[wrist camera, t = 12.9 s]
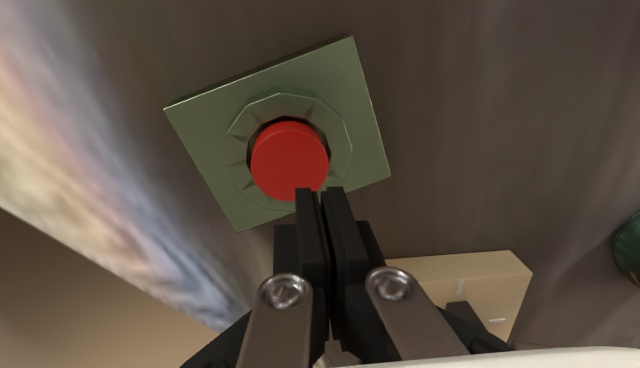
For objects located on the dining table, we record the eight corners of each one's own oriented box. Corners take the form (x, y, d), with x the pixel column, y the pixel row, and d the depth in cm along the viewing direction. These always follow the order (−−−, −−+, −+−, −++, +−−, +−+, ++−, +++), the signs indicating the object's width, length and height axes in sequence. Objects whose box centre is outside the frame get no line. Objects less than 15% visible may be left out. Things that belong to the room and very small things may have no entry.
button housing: (345, 32, 20) (361, 36, 16) (382, 163, 24) (401, 189, 20) (172, 100, 20) (151, 118, 17) (238, 217, 24) (233, 251, 21)
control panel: (509, 249, 29) (534, 274, 26) (483, 330, 34) (502, 358, 31) (375, 259, 28) (387, 287, 25) (366, 342, 32) (375, 373, 30)
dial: (446, 302, 27) (483, 362, 22) (467, 300, 27) (508, 359, 22) (434, 348, 29) (464, 412, 25) (453, 346, 29) (487, 409, 25)
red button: (310, 109, 18) (313, 118, 16) (333, 172, 20) (338, 186, 18) (240, 136, 18) (237, 147, 16) (269, 196, 20) (269, 211, 18)
